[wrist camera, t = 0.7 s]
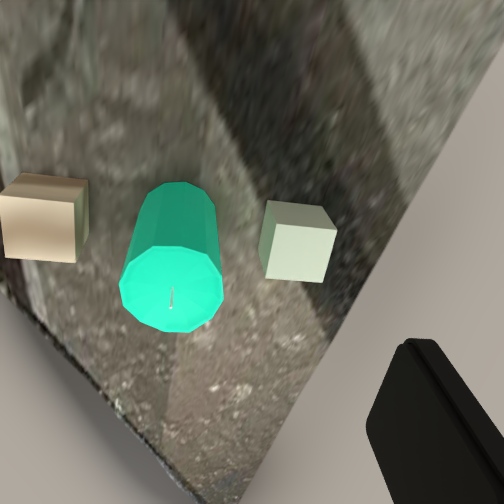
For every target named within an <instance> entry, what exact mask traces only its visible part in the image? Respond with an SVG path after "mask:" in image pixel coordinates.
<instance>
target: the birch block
mask: <svg viewBox="0 0 504 504" xmlns="http://www.w3.org/2000/svg"><path fill="white" fill-rule="evenodd" d="M0 216H1V225H2V233H3V242H4V250H5V257H7V258H19V259H32V260H44V261H57V262H69V263H76V261H77V259H78V257H79V255H80V253H81V251H82V248H83V246H84V244H85V242H86V240H87V238H88V236H89V186H88V180H85V179H76V178H67V177H58V176H50V175H41V174H32V173H23V172H22V173H21V174H20V175H19V176H18V177H17V178H16V179H15V180H14V181H13V182H12V183H11V184H10V185H9V186H7V187H6V188H5V189H4V190H3V191H2V192H1V193H0Z"/></svg>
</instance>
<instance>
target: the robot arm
mask: <svg viewBox="0 0 504 504" xmlns="http://www.w3.org/2000/svg"><path fill="white" fill-rule="evenodd" d="M366 432H367V436H368V439H369V441H370V444H371V447H372V449H373V451H374V454H375V457H376V459H377V462H378V464H379V467H380V469H381V472H382V474H383V477H384V480H385V482H386V485H387V487H388V490H389V492H390V495H391V497H392V500H393V502H394V504H504V437H503V436H502V435H501V433H500V432H499V430H498V429H497V428H496V426H495V425H494V423H493V422H492V421H491V419H490V418H489V416H488V415H487V413H486V412H485V410H484V409H483V408H482V406H481V405H480V403H479V402H478V401H477V399H476V398H475V396H474V395H473V393H472V392H471V391H470V389H469V388H468V387H467V385H466V384H465V382H464V381H463V379H462V378H461V377H460V375H459V374H458V372H457V371H456V369H455V368H454V367H453V365H452V364H451V362H450V361H449V359H448V358H447V357H446V355H445V354H444V352H443V351H442V350H441V348H440V347H439V345H438V344H437V343H436V342H435V341H434V340H432V339H417V338H408V339H406V340H405V342H404V343H403V344H400V345H399V346H398V347H397V349H396V351H395V354H394V356H393V358H392V361H391V363H390V366H389V368H388V370H387V373H386V375H385V377H384V380H383V382H382V385H381V387H380V389H379V392H378V394H377V396H376V399H375V401H374V404H373V406H372V408H371V411H370V413H369V416H368V418H367V421H366Z"/></svg>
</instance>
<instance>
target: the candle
mask: <svg viewBox="0 0 504 504" xmlns="http://www.w3.org/2000/svg"><path fill="white" fill-rule="evenodd" d="M119 287H120V292H121V297H122V302H123V306H124V307H125V308H126V309H127V310H128V311H129V312H130V313H132V314H133V315H134V316H135V317H136V318H137V319H138V320H139V321H140V322H142V323H145V324H147V325H149V326H152V327H154V328H157V329H159V330H161V331H164V332H191V331H193V330H195V329H196V328H198V327H199V326H201V325H202V324H204V323H205V322H207V321H209V320H210V319H212V317H213V316H214V314H215V312H216V311H217V309H218V308H219V306H220V305H221V303H222V301H223V283H222V270H221V260H220V250H219V240H218V230H217V220H216V210H215V205H214V204H213V202H212V201H211V200H210V198H209V197H208V195H207V194H206V193H205V191H204V190H202V189H200V188H198V187H196V186H194V185H191V184H189V183H187V182H169V183H163V184H162V185H160V186H159V187H157V188H155V189H154V190H152V191H151V192H149V193H148V194H147V196H146V198H145V200H144V202H143V205H142V207H141V209H140V211H139V215H138V218H137V222H136V225H135V229H134V232H133V236H132V239H131V243H130V246H129V250H128V253H127V257H126V260H125V264H124V267H123V271H122V274H121V278H120V281H119Z"/></svg>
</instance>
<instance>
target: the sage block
mask: <svg viewBox="0 0 504 504" xmlns="http://www.w3.org/2000/svg"><path fill="white" fill-rule="evenodd" d="M336 233H337V229H336V227H335V226H334V224H333V223H332V221H331V220H330V218H329V217H328V215H327V214H326V212H325V211H324V209H323V207H322V206H315V205H306V204H297V203H289V202H280V201H271V200H267V205H266V210H265V215H264V221H263V226H262V231H261V236H260V241H259V247H258V252H259V256H260V260H261V264H262V268H263V271H264V275H265V278H270V279H283V280H295V281H308V282H320V283H322V282H323V279H324V275H325V272H326V268H327V265H328V261H329V258H330V254H331V251H332V247H333V244H334V240H335V237H336Z"/></svg>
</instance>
